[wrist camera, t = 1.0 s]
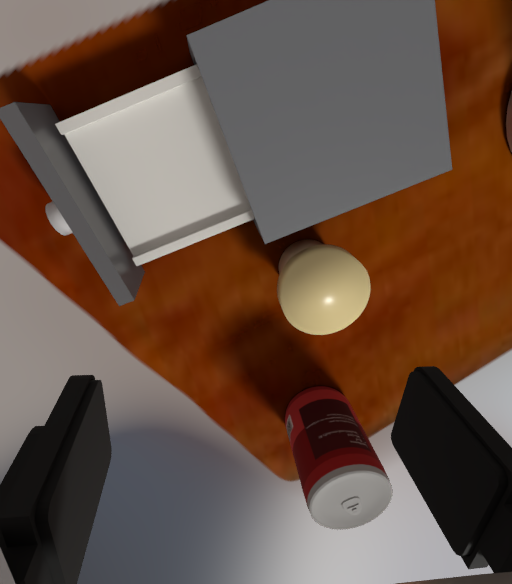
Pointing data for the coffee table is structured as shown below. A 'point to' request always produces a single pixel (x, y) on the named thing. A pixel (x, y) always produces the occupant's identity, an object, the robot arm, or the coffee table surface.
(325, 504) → the canned food
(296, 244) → the beige rounded lump
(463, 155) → the coffee table surface
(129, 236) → the drawer
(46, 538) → the robot arm
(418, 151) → the housing
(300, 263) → the cream domed disc
